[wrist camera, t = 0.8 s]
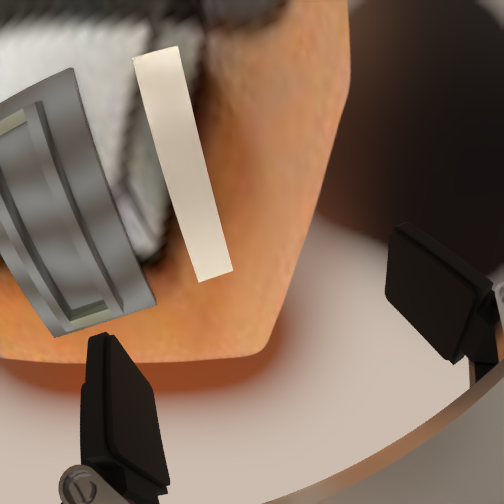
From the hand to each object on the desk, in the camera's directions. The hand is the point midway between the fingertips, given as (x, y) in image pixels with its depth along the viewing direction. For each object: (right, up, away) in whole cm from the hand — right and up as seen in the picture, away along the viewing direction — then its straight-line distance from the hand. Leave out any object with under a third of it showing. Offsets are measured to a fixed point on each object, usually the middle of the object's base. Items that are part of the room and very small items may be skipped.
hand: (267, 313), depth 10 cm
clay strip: (-8, +11, +18) cm, 23 cm away
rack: (-20, +5, +17) cm, 27 cm away
